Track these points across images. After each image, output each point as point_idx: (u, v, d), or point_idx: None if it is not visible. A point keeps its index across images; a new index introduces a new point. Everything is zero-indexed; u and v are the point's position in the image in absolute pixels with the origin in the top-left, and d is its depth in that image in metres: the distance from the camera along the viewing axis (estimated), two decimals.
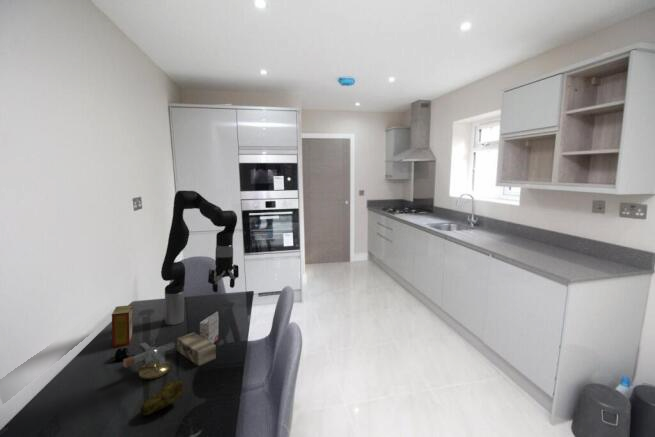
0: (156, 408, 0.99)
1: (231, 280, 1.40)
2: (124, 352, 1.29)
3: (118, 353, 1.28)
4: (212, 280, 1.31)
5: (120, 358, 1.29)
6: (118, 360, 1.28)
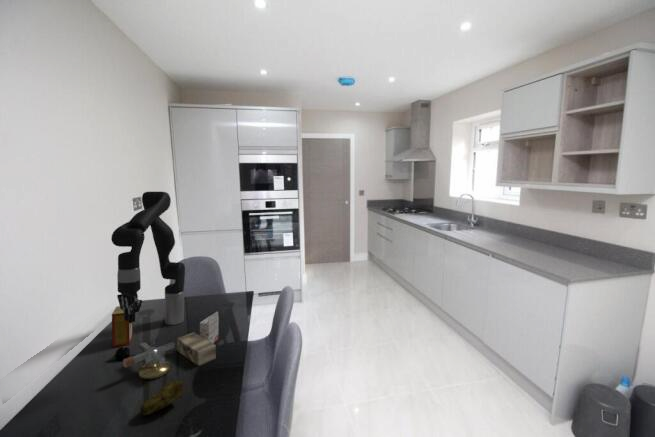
0: (156, 408, 0.99)
1: (128, 312, 1.20)
2: (124, 352, 1.29)
3: (118, 352, 1.29)
4: None
5: (121, 357, 1.30)
6: (118, 359, 1.29)
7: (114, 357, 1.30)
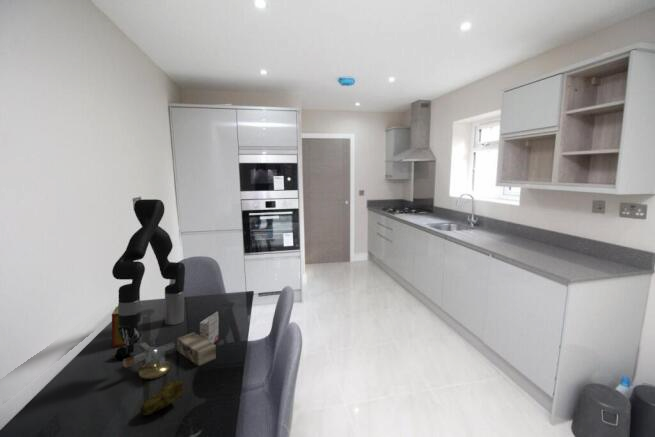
0: (156, 408, 0.99)
1: None
2: (123, 351, 1.29)
3: (118, 351, 1.29)
4: None
5: (121, 356, 1.30)
6: (118, 358, 1.29)
7: (115, 356, 1.31)
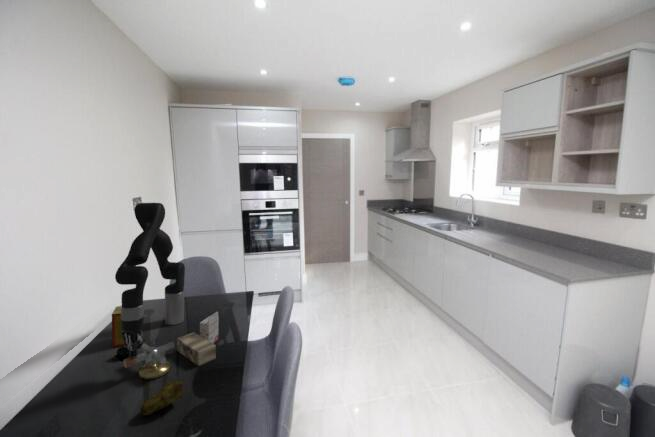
0: (156, 408, 0.99)
1: None
2: (123, 351, 1.29)
3: (119, 351, 1.30)
4: None
5: (121, 356, 1.31)
6: (118, 358, 1.30)
7: (116, 355, 1.32)
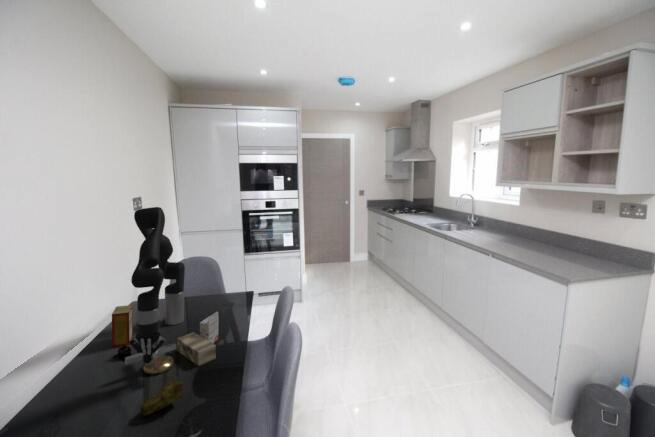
0: (156, 408, 0.99)
1: None
2: (123, 351, 1.29)
3: (120, 350, 1.30)
4: None
5: (122, 355, 1.31)
6: (119, 357, 1.30)
7: None
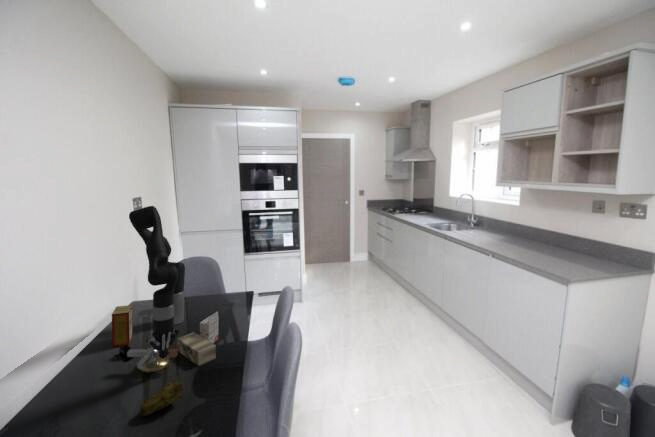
0: (155, 408, 0.99)
1: None
2: (123, 351, 1.30)
3: (120, 349, 1.31)
4: None
5: (123, 355, 1.31)
6: (120, 356, 1.31)
7: None
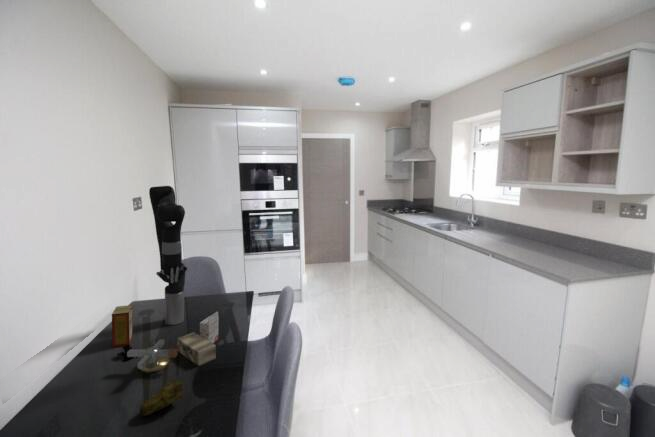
0: (155, 408, 0.99)
1: None
2: (124, 350, 1.30)
3: (122, 348, 1.32)
4: None
5: None
6: (121, 355, 1.32)
7: None
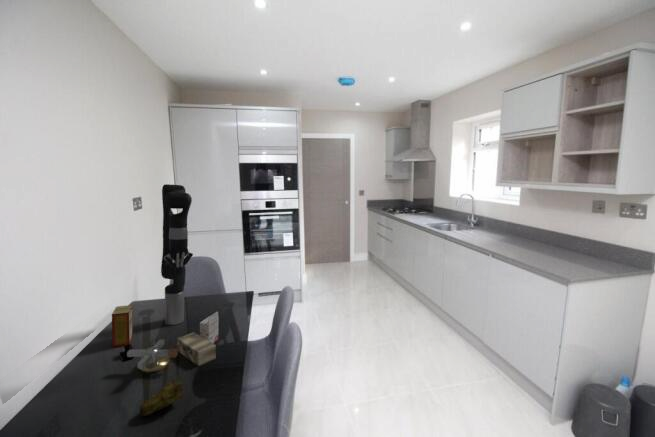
0: (155, 409, 0.99)
1: None
2: (124, 350, 1.30)
3: (123, 348, 1.32)
4: None
5: None
6: (123, 354, 1.32)
7: None
